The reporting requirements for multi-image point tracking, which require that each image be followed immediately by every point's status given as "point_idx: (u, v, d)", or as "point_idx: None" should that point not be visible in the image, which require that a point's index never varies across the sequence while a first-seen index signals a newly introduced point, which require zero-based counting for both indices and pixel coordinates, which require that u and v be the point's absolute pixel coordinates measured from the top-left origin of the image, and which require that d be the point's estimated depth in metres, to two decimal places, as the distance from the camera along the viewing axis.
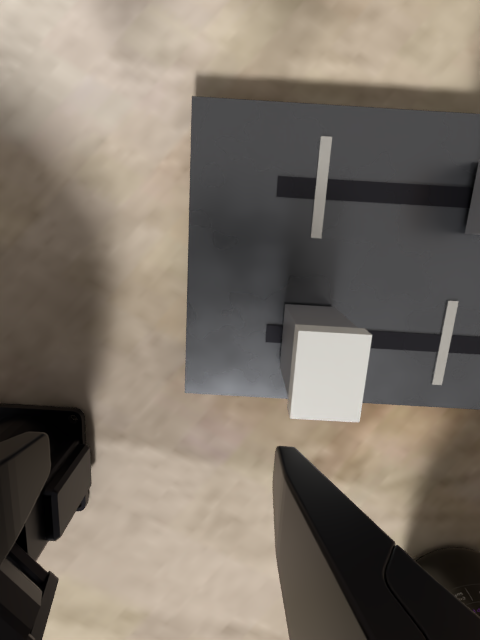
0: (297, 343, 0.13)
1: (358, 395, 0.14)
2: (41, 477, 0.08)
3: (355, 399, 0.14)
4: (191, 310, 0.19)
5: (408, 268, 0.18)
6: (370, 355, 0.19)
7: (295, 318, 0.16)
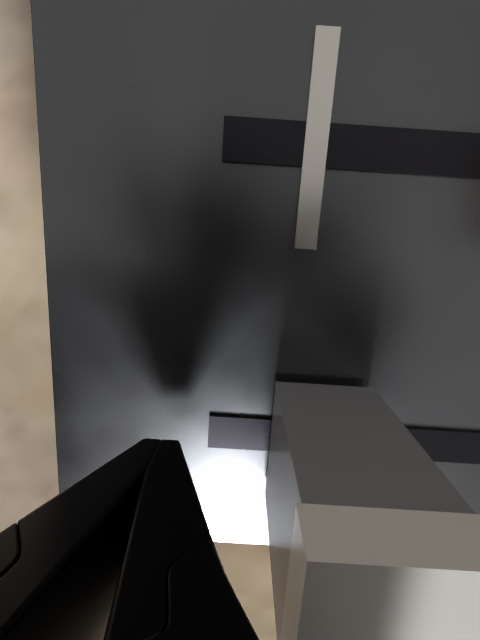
0: (303, 591, 0.04)
1: None
2: None
3: None
4: (61, 387, 0.10)
5: None
6: None
7: (296, 450, 0.06)
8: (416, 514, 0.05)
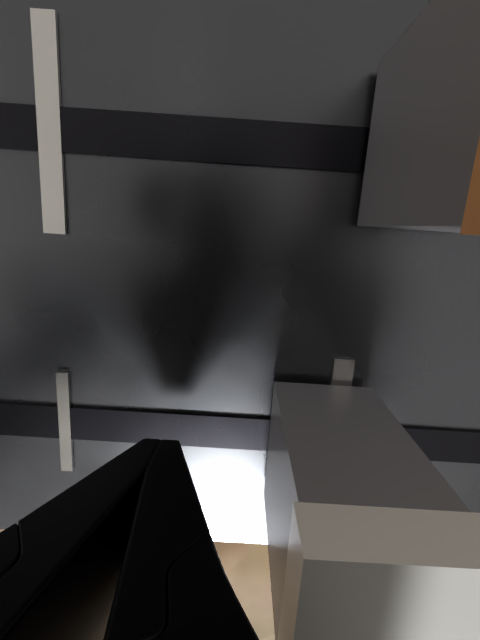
0: (299, 589, 0.04)
1: None
2: None
3: None
4: None
5: (253, 294, 0.09)
6: (195, 458, 0.10)
7: (294, 450, 0.06)
8: (412, 513, 0.05)
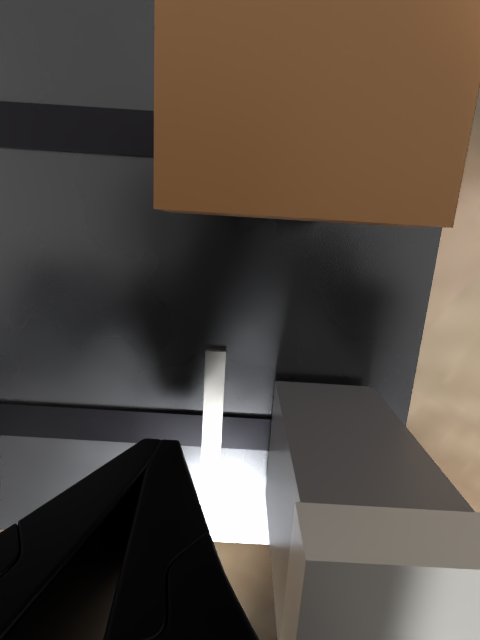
0: (302, 590, 0.04)
1: None
2: None
3: None
4: None
5: (119, 285, 0.09)
6: (76, 451, 0.10)
7: (295, 449, 0.06)
8: (415, 513, 0.05)
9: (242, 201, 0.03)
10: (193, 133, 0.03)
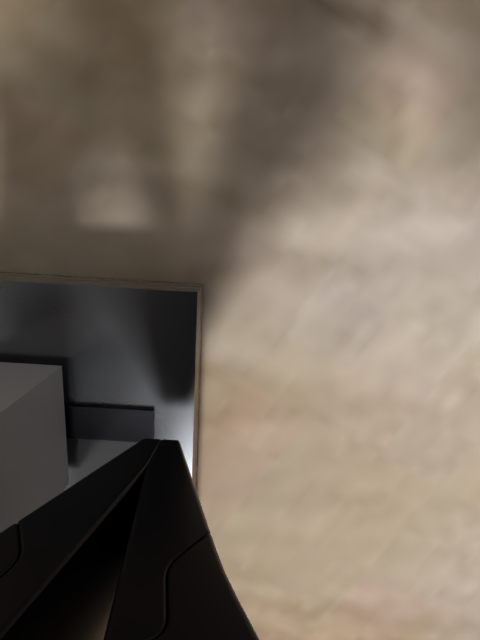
0: None
1: None
2: None
3: None
4: None
5: None
6: None
7: None
8: None
9: None
10: None
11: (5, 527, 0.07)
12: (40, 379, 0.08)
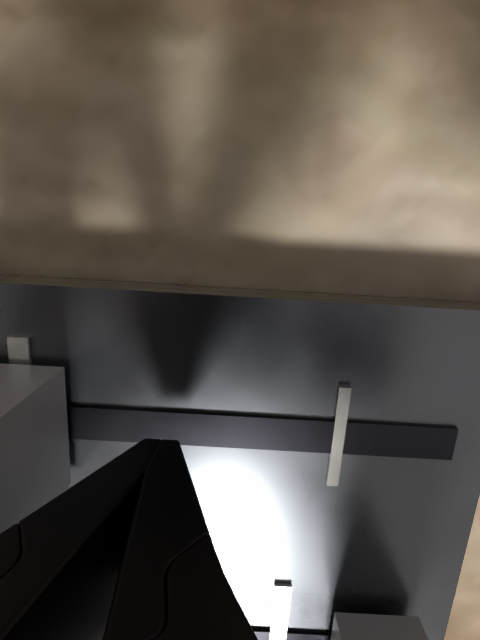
0: None
1: None
2: None
3: None
4: None
5: None
6: None
7: None
8: None
9: None
10: None
11: None
12: (43, 380, 0.08)
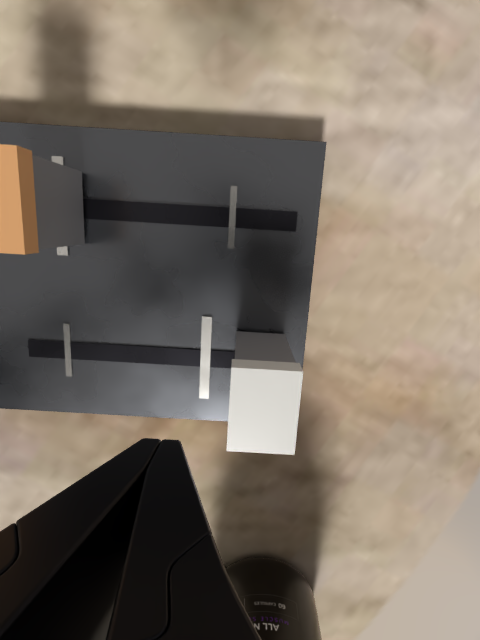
0: (231, 379, 0.14)
1: (292, 429, 0.14)
2: None
3: (289, 433, 0.14)
4: None
5: (159, 284, 0.18)
6: (135, 369, 0.20)
7: (237, 350, 0.16)
8: (273, 362, 0.14)
9: None
10: None
11: (58, 222, 0.15)
12: None
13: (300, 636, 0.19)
